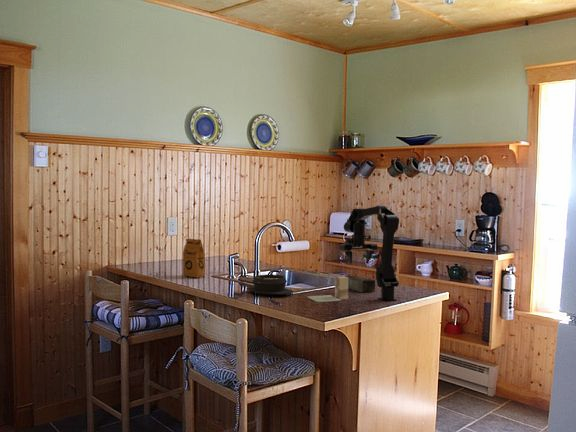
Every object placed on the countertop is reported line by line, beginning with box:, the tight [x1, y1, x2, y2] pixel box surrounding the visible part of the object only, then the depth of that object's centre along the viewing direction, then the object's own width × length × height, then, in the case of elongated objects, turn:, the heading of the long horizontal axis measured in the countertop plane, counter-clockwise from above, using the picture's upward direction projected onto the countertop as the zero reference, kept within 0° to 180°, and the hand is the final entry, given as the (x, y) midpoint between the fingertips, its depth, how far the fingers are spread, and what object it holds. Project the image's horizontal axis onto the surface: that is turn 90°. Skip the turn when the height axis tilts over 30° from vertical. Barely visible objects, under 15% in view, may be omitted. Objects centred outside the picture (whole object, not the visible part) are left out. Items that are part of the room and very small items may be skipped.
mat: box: [306, 294, 342, 303], centre depth 259 cm, size 12×12×1 cm
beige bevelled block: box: [334, 275, 349, 300], centre depth 262 cm, size 6×4×10 cm, turn 21°
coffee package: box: [182, 238, 206, 278], centre depth 317 cm, size 10×12×22 cm
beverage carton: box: [344, 274, 376, 294], centre depth 285 cm, size 8×19×7 cm, turn 25°
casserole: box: [245, 274, 294, 297], centre depth 270 cm, size 25×19×8 cm
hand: (358, 264), depth 280 cm, fingers open, 9 cm apart
